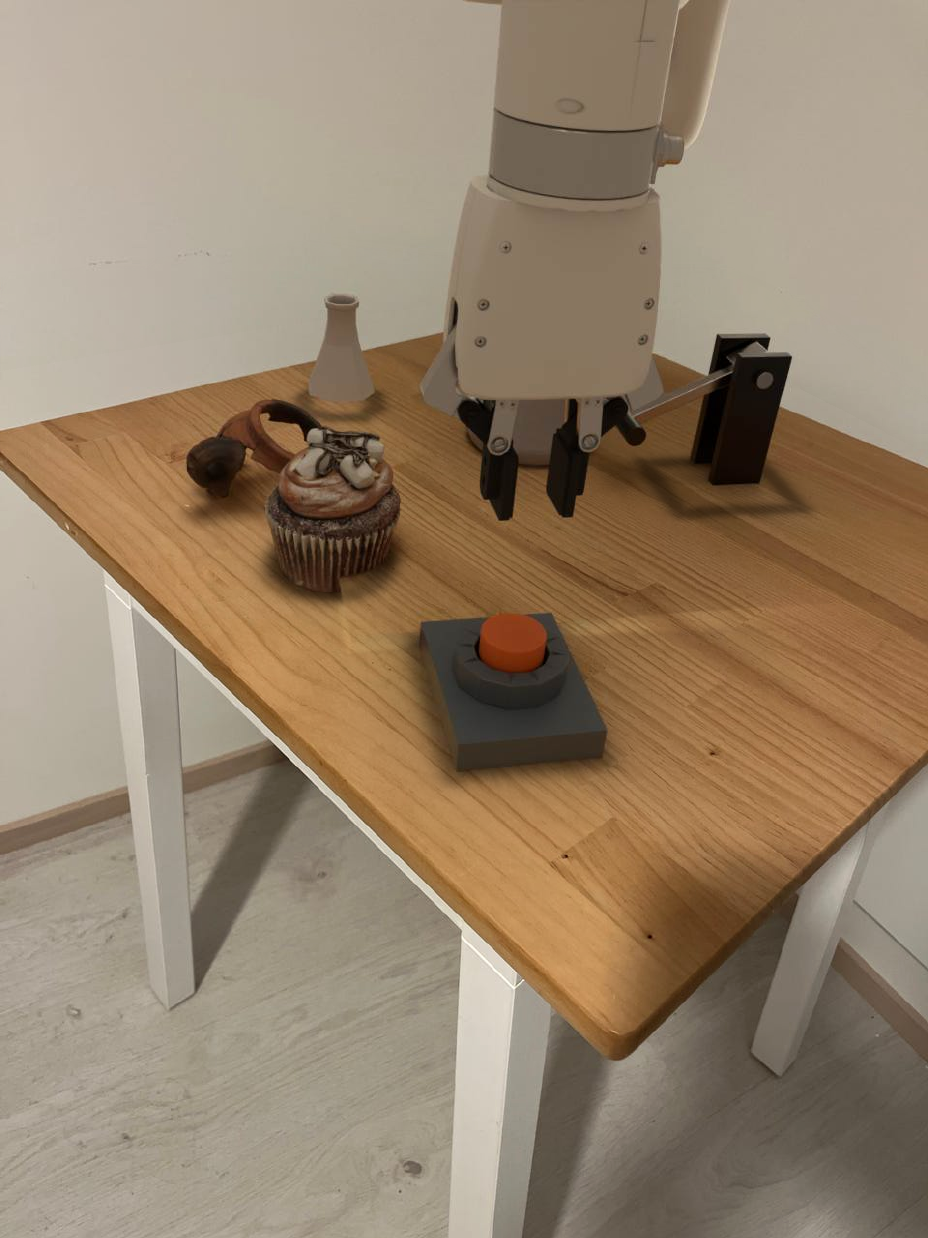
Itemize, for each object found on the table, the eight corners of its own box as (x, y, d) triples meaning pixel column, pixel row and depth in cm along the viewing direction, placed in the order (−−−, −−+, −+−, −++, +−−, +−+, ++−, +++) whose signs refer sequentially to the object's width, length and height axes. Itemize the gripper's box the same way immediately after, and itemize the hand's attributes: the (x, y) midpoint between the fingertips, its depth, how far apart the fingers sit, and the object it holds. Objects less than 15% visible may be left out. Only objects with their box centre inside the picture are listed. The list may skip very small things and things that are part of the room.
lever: (630, 453, 87) (622, 428, 85) (609, 423, 91) (601, 399, 90) (782, 384, 86) (777, 359, 85) (753, 358, 90) (748, 333, 89)
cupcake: (275, 526, 83) (271, 406, 77) (400, 532, 84) (405, 414, 78) (257, 596, 75) (251, 468, 70) (396, 603, 76) (401, 477, 70)
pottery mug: (254, 454, 93) (299, 384, 89) (315, 535, 91) (364, 468, 87) (142, 466, 84) (185, 389, 79) (207, 557, 82) (256, 483, 77)
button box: (419, 647, 72) (422, 598, 69) (547, 638, 74) (554, 590, 71) (455, 772, 62) (460, 720, 60) (602, 757, 64) (612, 706, 62)
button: (472, 637, 67) (474, 614, 66) (533, 633, 68) (537, 610, 67) (487, 677, 64) (489, 654, 63) (551, 672, 65) (554, 649, 64)
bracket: (681, 513, 89) (713, 368, 82) (644, 463, 96) (670, 324, 89) (801, 507, 92) (842, 365, 84) (756, 458, 99) (791, 323, 91)
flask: (313, 382, 106) (312, 281, 100) (385, 391, 105) (388, 290, 99) (294, 413, 100) (291, 307, 94) (370, 422, 99) (372, 317, 93)
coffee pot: (599, 486, 92) (626, 316, 83) (465, 481, 91) (479, 308, 82) (566, 385, 109) (587, 235, 101) (454, 380, 108) (465, 228, 100)
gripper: (704, 143, 54) (643, 470, 65) (383, 134, 50) (374, 480, 61) (769, 182, 48) (690, 534, 59) (410, 175, 45) (395, 550, 55)
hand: (529, 504), depth 60 cm, fingers closed
